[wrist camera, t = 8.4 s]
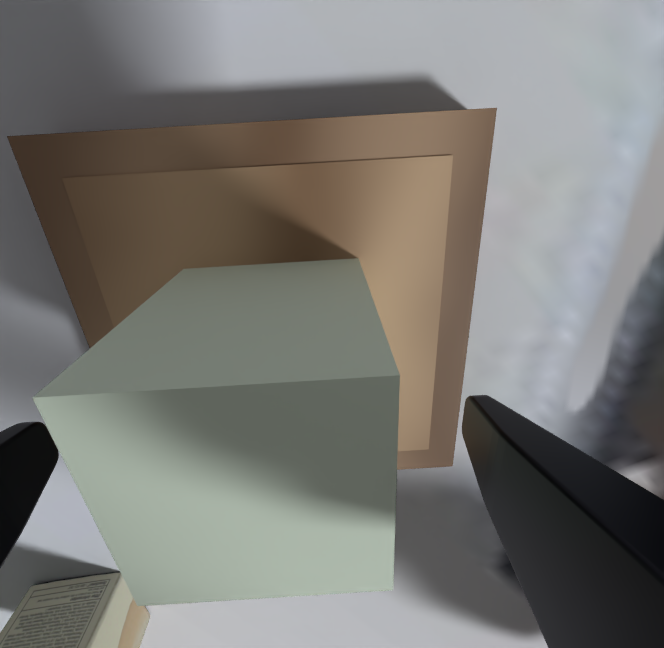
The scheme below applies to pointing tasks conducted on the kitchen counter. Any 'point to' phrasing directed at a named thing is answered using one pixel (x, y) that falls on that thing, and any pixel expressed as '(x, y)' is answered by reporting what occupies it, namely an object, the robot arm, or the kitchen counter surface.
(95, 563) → the kitchen counter surface
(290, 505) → the block
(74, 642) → the box
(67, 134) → the plinth
